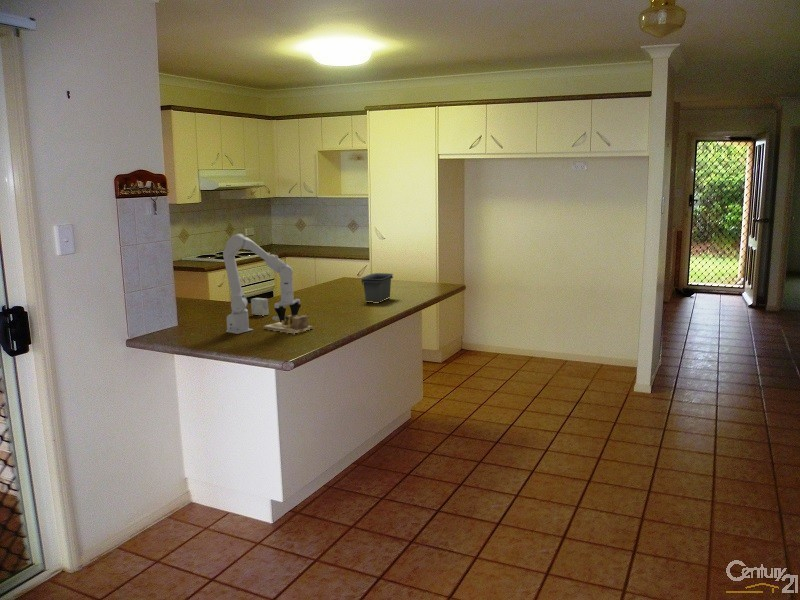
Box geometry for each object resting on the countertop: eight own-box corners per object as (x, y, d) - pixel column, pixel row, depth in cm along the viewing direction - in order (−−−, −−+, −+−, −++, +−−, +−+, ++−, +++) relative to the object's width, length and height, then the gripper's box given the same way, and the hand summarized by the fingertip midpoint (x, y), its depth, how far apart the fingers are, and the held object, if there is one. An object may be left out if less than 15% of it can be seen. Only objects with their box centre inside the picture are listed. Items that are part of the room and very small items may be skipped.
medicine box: (269, 315, 342) (268, 298, 341) (263, 317, 338) (262, 300, 337) (257, 314, 346) (256, 297, 344) (251, 315, 342) (250, 298, 341)
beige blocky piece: (294, 334, 298) (293, 319, 297) (263, 329, 310) (262, 315, 308) (313, 329, 307) (312, 315, 306) (282, 324, 319) (281, 310, 318)
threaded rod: (296, 324, 303) (296, 320, 303) (272, 320, 312) (272, 316, 312) (299, 323, 305) (299, 319, 305) (275, 319, 314) (275, 315, 314)
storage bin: (382, 304, 366) (381, 278, 364) (355, 303, 371) (355, 277, 369) (395, 298, 386) (395, 273, 383) (370, 297, 391) (370, 272, 388)
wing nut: (285, 328, 301) (285, 317, 301) (280, 328, 303) (280, 317, 302) (302, 324, 310) (302, 313, 309) (298, 323, 312) (297, 313, 311)
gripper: (281, 294, 297) (283, 324, 299) (304, 290, 309) (305, 319, 311) (270, 293, 301) (272, 323, 304) (293, 289, 313) (294, 317, 315)
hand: (288, 321), depth 308 cm, fingers open, 7 cm apart
